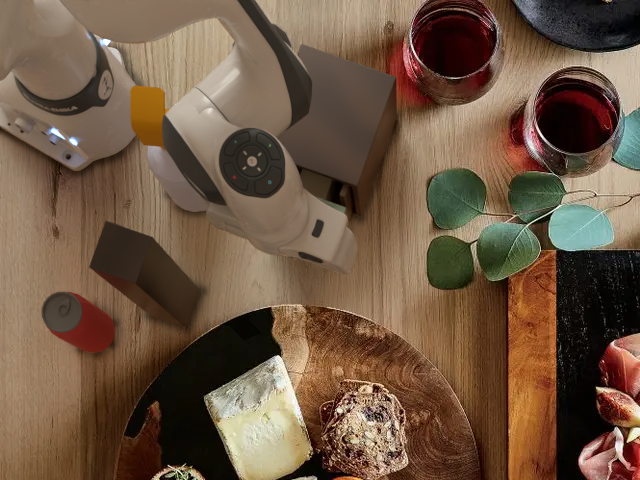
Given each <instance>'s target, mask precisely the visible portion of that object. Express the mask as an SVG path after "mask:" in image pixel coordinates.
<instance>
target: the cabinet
mask: <svg viewBox="0 0 640 480" xmlns="http://www.w3.org/2000/svg"><path fill="white" fill-rule="evenodd" d="M296 54H297V55H298V57H299V58H300V59H301V61H302V62H303V64H304V65H305V67H306V69H307V71H308V74H309V76H310V78H311V80H312V98H311V104H310V109H309V113H308V114H307V115H306V116H305V117H303V118H302V119H301V120H299V121H298V122H297V123H295V124H294V125H293V126H291V127H290V128H289V129H288V130H285V131H284V132H283V133H281V134H280V135H279V136H278V137H277V139H278V140H279V141H280V142H281V143H282V145H283V146H284V147H285V148H286V150H287V151H288V153H289V154H290V156H291V158H292V159H293V161H294V163H295V165H296V167H298V168H301V169H304V170H307V171H309V172H312V173H315V174H318V175H321V176H324V177H326V178H329V179H332V180H335V181H338V182H341V183H344V184H346V185H349V186H352V189H353V195H354V202H355V206H354V209H353V212H352V215H353V216H356V217H359V218H362V217H363V214H364V212H365V208H366V206H367V203H368V200H369V198H370V194H371V192H372V188H373V186H374V183H375V181H376V178H377V175H378V172H379V170H380V167H381V164H382V161H383V158H384V155H385V154H386V150H387V147H388V144H389V142H390V140H391V139H390V138H391V135H392V133H393V130H394V127H395V125H396V122H397V119H398V113H397V112H398V111H397V110H398V109H397V101H398V100H397V77H396V76H395V75H392V74H390V73H387V72H384V71H381V70H378V69H375V68H373V67H369V66H366V65H364V64H360V63H358V62H355V61H353V60H350V59H346V58H343V57H341V56H339V55H335V54H332V53H329V52H326V51H323V50H321V49H317V48H315V47H312V46H309V45H306V44H303V43H301V44H300V46H299V49H298V52H297V53H296Z"/></svg>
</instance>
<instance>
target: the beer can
mask: <svg viewBox="0 0 640 480" xmlns="http://www.w3.org/2000/svg"><path fill="white" fill-rule="evenodd" d="M40 310H41V311H40V312H41V319H42V321H43V323H44V324H45V327H46V328H47V329H48V331H49V332H50V333H51V334H52V335H53V336H55V337H56V338H58V339H60V340H62V341H64V342H66V343H67V344H70V345H71V346H73V347H75V348H77V349H79V350H81V351H83V352H87V353H90V354H95V353H100V352H103V351H105V350H106V349H107V348H108V347H110V345H111V344H112V343H113V341H114V338H115V335H116V326H115V323H114V320H113V319H112V317H111V316H110V314H109V313H107V312H105V311H104V310H102V309H101V308H99V307H98V306H97V305H96V304H93V303H92V302H91V301H90V300H88V299H87V298H85V297H83V296H82V295H81V294H79V293H76V292H72V291H56V292H53V293H51V294H50V295H49V296H47V297H46V298H45V300H44V301H43V303H42V306H41V308H40Z"/></svg>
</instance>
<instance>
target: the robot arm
mask: <svg viewBox="0 0 640 480" xmlns="http://www.w3.org/2000/svg"><path fill="white" fill-rule="evenodd" d="M210 19H217V20H218V22H219V23H220V24H221V26H222V27H223V28H224V30H226V32H227V33H228V34H229V36H230V37H231V38H232V40H233V42H234V41H235V45H234V47H233V49H232V48H231V51H230V52H229V53H228V55H227V56H226V57H225V58H224V60H222V61H221V62H220V63H219V64H218V65H217V66H216V67H215V68H213V70H211V71H210V72H209V73H208V74H207V75H206V76H205V77H204V78H202V79H201V81H199V82H198V83H197V84H196V85H194V86H192V88H191V89H189V91H187V92H186V93H185V94H184V95H183V96H182V97H181V98H179V100H177V102H176V103H175V104H173V106H171V107H170V108H168V109H169V110H168V112H167V113H166V114H165V115H164V116H163V121H162V137H163V145H164V147H165V149H166V150H167V152H168V153H169V155H170V156H171V158H172V159H173V161H174V163H175V164H176V166H177V167H178V169H179V171H180V172H181V173H182V175H183V176H184V178H185V179H186V180H187V182H188V183H189V184H190V185H191V186H192V188H193V189H194V190H195V191H196V192H197V193H198V194H199V195H200V197H201V198H202V200H203V201H204V202H205V203H206V204H208V208H207V210H205V211H206V217H207V220H208V222H209V224H210V225H211V226H212V227H213V228H215V229H217V230H219V231H221V232H224V233H226V234H227V233H228V234H230V235H233V236H234V237H235V236H236V237H238V238H241V239H243V240H246V241H248V242H249V243H250V245H252V247H254V248H255V249H256V250H258V251H260V252H261V253H264V254H266V255H270V256H285V257H287V258H291V259H292V260H296V261H297V260H298V259H299V260H301V261H304V262H307V263H310V264H313V265H316V266H319V267H320V268H324V269H326V270H330V271H333V272H335V273H338V274H340V275H343V276H350V275H351V273H352V272H353V269H354V268H355V264H356V261H357V259H358V255H359V246H358V242H357V239H356V237H355V234H354V233H353V231H352V230H351V228H350V229H349V228H348V227H347V223H348V217H347V216H346V215H345V214H344V213H342V212H340V211H338V210H337V209H335V208H333V207H331V206H329V205H327V204H325V203H324V202H322V201H320V200H318V199H317V198H316V197H314V196H313V195H312V194H310V193H309V192H308V191H307V190H305V189H304V188H303V185H302V181H301V177H300V175H299V172H298V169H297V167H296V165H295V163H294V161H293V159H292V158H291V156H290V154H289V153H288V151H287V150H286V148H285V147H284V146H283V145H282V143H281V142H280V141H279V140H278V139H277V137H278V136H279V135H280V134H281V133H283V132H284V131H285V130H288V129H289V128H290V127H291V126H293V125H294V124H295V123H297V122H298V121H299V120H301V119H302V118H303V117H305V116H306V115H307V114H308V113H309V109H310V104H311V98H312V80H311V78H310V76H309V74H308V71H307V69H306V67H305V65H304V64H303V62H302V61H301V59H300V58H299V57H298V55H297V54H298V53H297V52H296V51H293V50H294V48H293V49H292V48H291V47H290V46H289V45H288V44H287V43H285V42H284V41H283V39H282V38H281V37H280V35H279V34H278V32H277V31H276V29H275V28H274V27H273V25H272V24H271V23H272V22H271V21H270V19H269V18H268V16H267V14H265V12H264V11H263V9H262V8H261V6H260V5H259V3H258V2H257V0H0V128H1V129H2V130H3V131H5V132H7V133H9V134H11V135H13V136H14V137H16V138H17V139H19V140H21V141H22V142H24V143H26V144H28V145H29V146H30V147H33V148H34V149H36V150H38V151H39V152H41V153H43V154H45V155H46V156H48V157H49V158H51V159H53V160H55V161H56V162H58V163H59V164H61V165H63V166H64V167H66V168H68V169H69V170H71V171H74V172H79V171H82V170H84V169H86V168H87V167H88V166H90V165H91V164H92V163H93V162H95V161H98V160H101V159H105V158H109V157H111V156H114V155H115V154H118V153H119V152H121V151H123V150H124V149H125V148H126V147H128V145H129V144H130V143H131V142H132V141H133V140H134V138H135V137H136V136H137V135H136V134H135V133H134V131H133V129H132V126H131V114H130V90H131V88H132V87H133V86H137V84H136V83H135V82H134V81H135V80H133V79H132V77H131V76H130V75H129V73H128V72H127V69H126V64H125V61H124V57H123V55H122V53H120V51H119V50H118V49H117V48H114V47H111V46H110V47H109V46H108V45H109V44H110V42H113V43H118V44H119V43H120V44H128V45H140V44H141V45H142V44H147V43H152V42H155V41H158V40H161V39H164V38H165V37H168V36H169V35H171V34H173V33H175V32H177V31H179V30H181V29H183V28H186V27H188V26H190V25H193V24H196V23H199V22H201V21H206V20H210ZM69 157H70V158H69ZM68 158H69V159H68Z"/></svg>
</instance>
